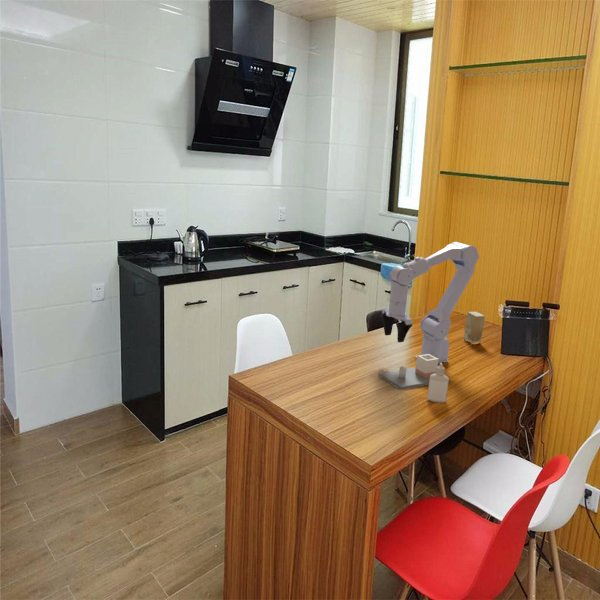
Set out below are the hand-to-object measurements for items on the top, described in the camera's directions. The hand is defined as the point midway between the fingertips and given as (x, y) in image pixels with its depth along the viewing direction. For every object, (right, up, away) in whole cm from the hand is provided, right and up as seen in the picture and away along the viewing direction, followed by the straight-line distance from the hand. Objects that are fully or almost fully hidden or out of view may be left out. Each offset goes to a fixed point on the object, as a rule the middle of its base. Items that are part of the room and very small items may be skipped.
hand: (394, 338), depth 190 cm
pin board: (+5, -13, -10) cm, 17 cm away
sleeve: (+9, -11, -8) cm, 17 cm away
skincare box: (+37, -4, +31) cm, 49 cm away
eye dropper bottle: (+8, -17, -26) cm, 32 cm away
